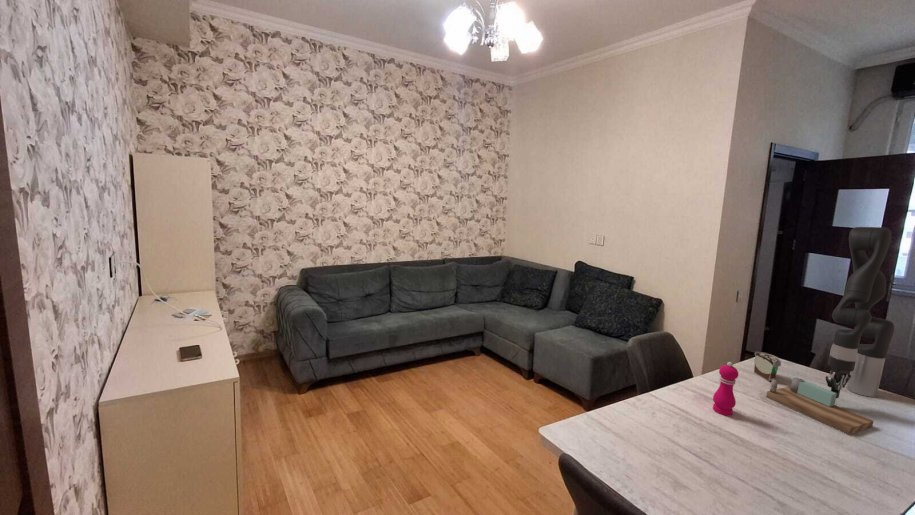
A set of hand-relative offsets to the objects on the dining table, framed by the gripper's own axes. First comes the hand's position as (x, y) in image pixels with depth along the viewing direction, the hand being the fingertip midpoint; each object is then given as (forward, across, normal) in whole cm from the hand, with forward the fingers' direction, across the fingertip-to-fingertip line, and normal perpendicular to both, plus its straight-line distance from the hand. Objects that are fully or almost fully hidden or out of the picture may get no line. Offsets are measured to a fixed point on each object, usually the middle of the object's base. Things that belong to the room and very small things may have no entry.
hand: (833, 397), depth 158 cm
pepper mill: (+4, +48, -11) cm, 50 cm away
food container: (+4, -2, -25) cm, 25 cm away
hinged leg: (+1, +7, -4) cm, 8 cm away
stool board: (+4, +12, 0) cm, 12 cm away
